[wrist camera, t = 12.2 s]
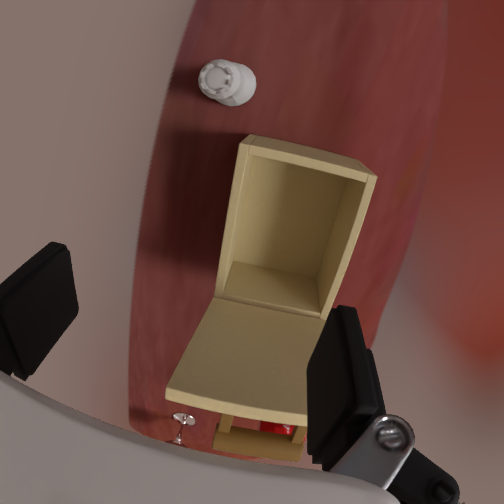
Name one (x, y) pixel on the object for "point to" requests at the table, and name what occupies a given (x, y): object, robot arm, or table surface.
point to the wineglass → (184, 420)
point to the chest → (291, 226)
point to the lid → (249, 375)
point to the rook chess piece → (227, 82)
